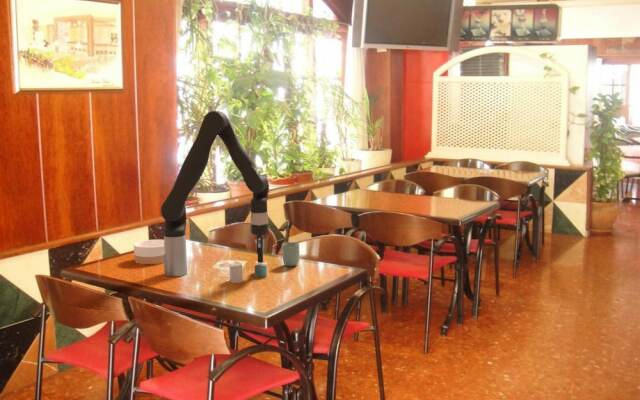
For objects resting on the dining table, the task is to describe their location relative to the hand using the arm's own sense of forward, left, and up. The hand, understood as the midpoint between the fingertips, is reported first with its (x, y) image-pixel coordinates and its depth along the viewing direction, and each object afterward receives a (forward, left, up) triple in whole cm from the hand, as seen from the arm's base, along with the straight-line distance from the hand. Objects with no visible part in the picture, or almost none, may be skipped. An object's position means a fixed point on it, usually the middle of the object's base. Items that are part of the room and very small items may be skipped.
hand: (260, 262), depth 299 cm
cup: (+13, +17, -6) cm, 22 cm away
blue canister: (0, -2, -4) cm, 4 cm away
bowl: (-52, +34, -6) cm, 62 cm away
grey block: (-10, -7, -6) cm, 14 cm away
